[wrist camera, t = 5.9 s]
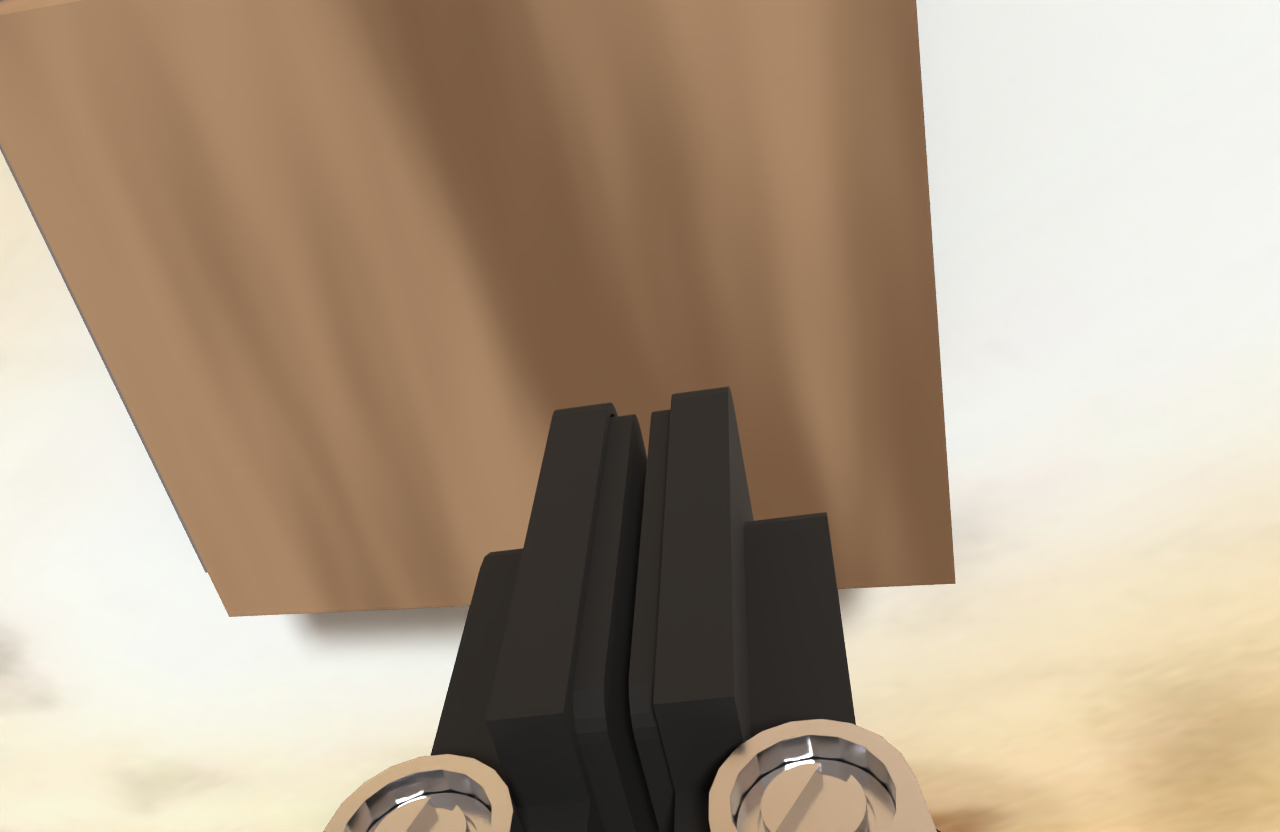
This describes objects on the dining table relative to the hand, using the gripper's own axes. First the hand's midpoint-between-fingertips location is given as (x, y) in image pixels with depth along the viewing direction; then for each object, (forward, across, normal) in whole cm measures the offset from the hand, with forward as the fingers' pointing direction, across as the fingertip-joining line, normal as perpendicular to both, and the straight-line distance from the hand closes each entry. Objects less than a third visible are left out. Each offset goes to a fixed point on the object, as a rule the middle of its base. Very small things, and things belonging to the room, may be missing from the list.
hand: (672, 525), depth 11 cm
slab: (+7, -3, 0) cm, 7 cm away
